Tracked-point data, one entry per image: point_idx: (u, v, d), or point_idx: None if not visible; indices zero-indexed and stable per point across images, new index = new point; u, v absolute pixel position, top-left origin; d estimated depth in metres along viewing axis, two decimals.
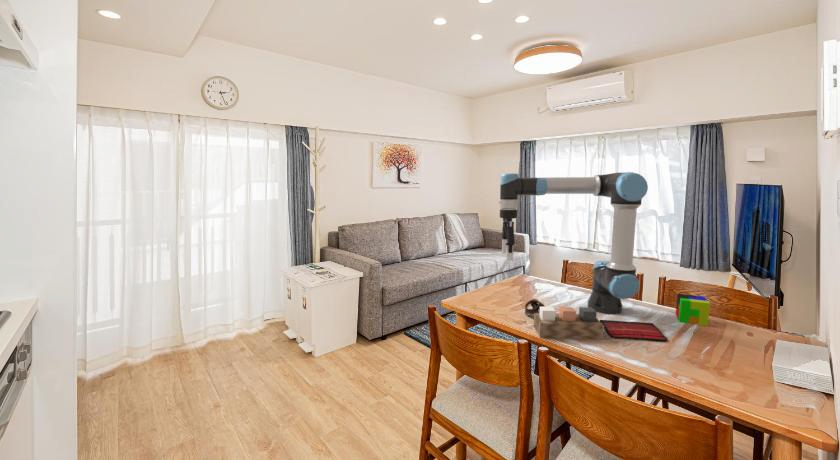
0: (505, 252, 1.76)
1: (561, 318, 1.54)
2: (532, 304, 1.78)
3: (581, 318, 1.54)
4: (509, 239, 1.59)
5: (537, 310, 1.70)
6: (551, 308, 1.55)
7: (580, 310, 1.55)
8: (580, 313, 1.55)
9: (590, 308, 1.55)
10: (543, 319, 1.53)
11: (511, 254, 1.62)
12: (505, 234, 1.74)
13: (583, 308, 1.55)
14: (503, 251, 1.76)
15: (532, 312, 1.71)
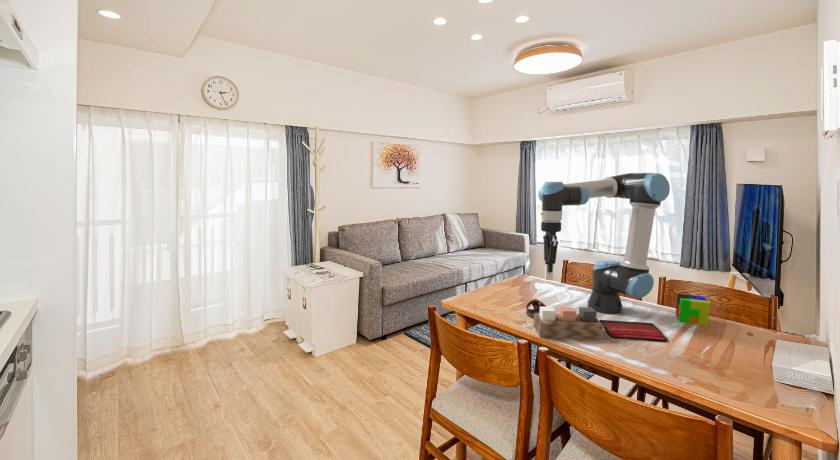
0: None
1: (561, 318, 1.54)
2: (533, 304, 1.78)
3: (581, 318, 1.54)
4: (550, 259, 1.48)
5: (538, 310, 1.70)
6: (551, 308, 1.55)
7: (580, 310, 1.55)
8: (580, 313, 1.55)
9: (590, 308, 1.55)
10: (543, 319, 1.53)
11: (551, 274, 1.52)
12: None
13: (583, 308, 1.55)
14: None
15: (533, 312, 1.71)
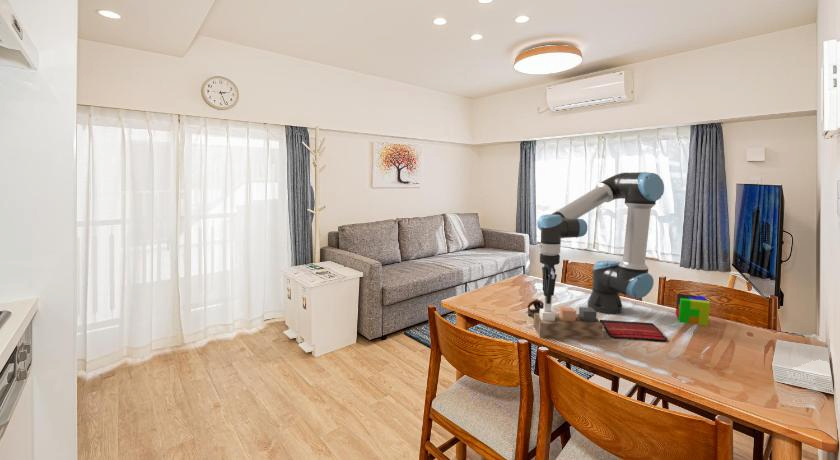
0: None
1: (561, 318, 1.54)
2: (535, 304, 1.78)
3: (581, 318, 1.54)
4: (548, 291, 1.50)
5: None
6: (551, 311, 1.55)
7: (580, 310, 1.55)
8: (580, 313, 1.55)
9: (590, 308, 1.55)
10: None
11: (549, 305, 1.54)
12: None
13: (583, 308, 1.55)
14: None
15: (535, 312, 1.70)
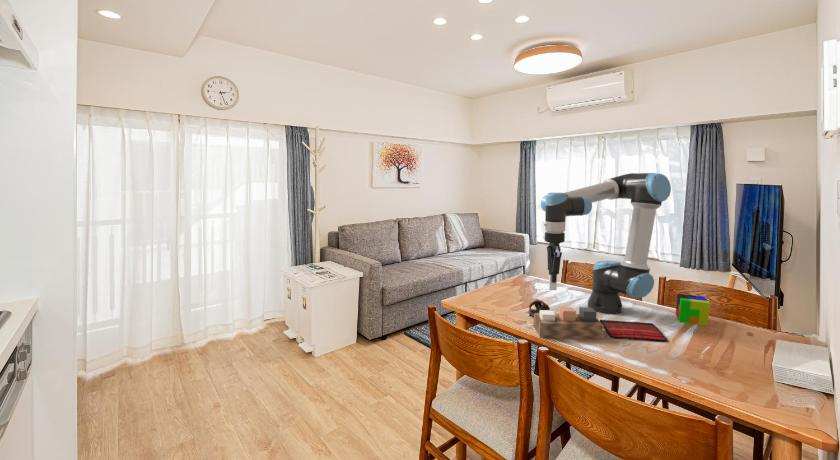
0: None
1: (561, 318, 1.54)
2: (536, 305, 1.77)
3: (581, 318, 1.54)
4: (554, 270, 1.49)
5: None
6: (551, 312, 1.55)
7: (580, 310, 1.55)
8: (580, 313, 1.55)
9: (590, 308, 1.55)
10: None
11: (554, 284, 1.53)
12: None
13: (583, 308, 1.55)
14: None
15: None
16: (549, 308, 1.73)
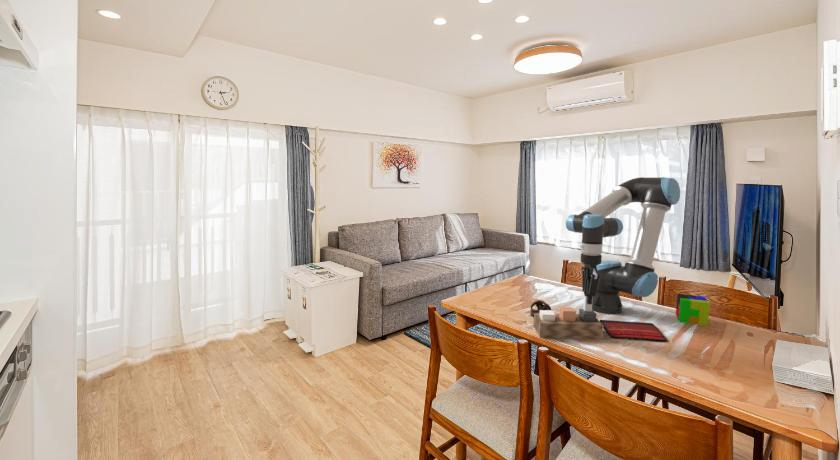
0: None
1: (561, 318, 1.54)
2: (537, 305, 1.77)
3: (581, 320, 1.54)
4: (590, 292, 1.49)
5: None
6: (551, 312, 1.55)
7: (580, 312, 1.55)
8: (580, 315, 1.55)
9: None
10: None
11: (590, 305, 1.53)
12: None
13: (583, 310, 1.55)
14: None
15: None
16: (550, 308, 1.73)
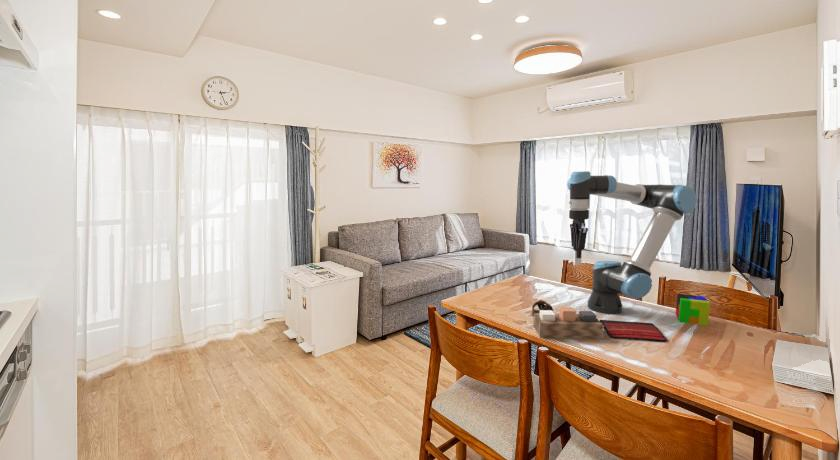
0: None
1: (561, 318, 1.54)
2: (539, 305, 1.77)
3: None
4: (579, 246, 1.55)
5: None
6: (551, 312, 1.55)
7: (580, 314, 1.56)
8: (580, 316, 1.55)
9: (590, 312, 1.55)
10: None
11: (579, 259, 1.59)
12: None
13: (583, 312, 1.55)
14: None
15: None
16: (552, 308, 1.73)
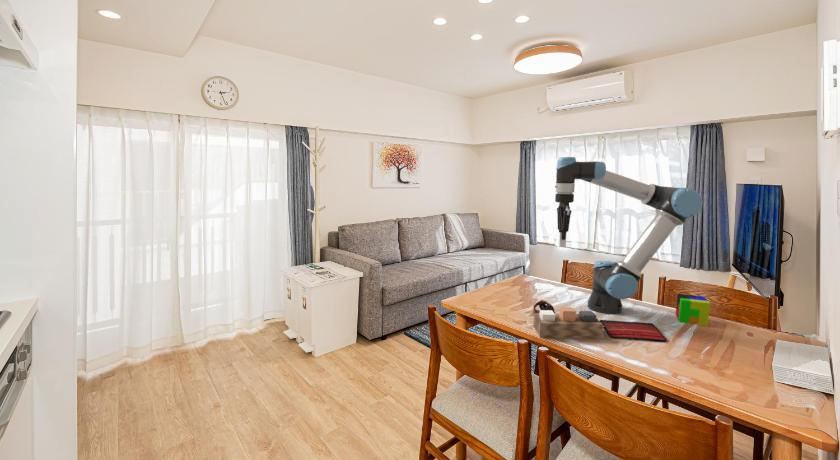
0: None
1: (561, 318, 1.54)
2: (540, 305, 1.77)
3: None
4: (564, 227, 1.64)
5: None
6: (551, 312, 1.55)
7: (580, 314, 1.56)
8: (580, 316, 1.55)
9: (590, 312, 1.55)
10: None
11: (564, 241, 1.68)
12: None
13: (583, 312, 1.55)
14: None
15: None
16: (553, 309, 1.73)
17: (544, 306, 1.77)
